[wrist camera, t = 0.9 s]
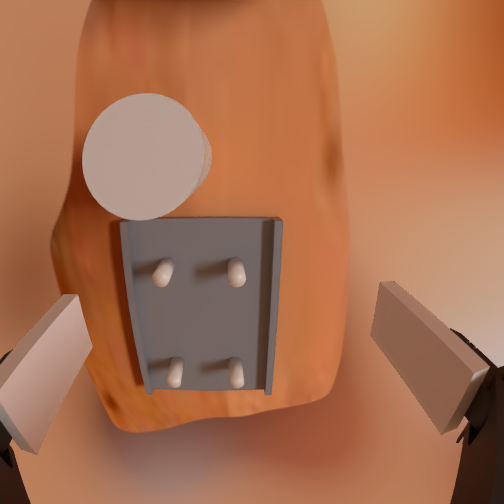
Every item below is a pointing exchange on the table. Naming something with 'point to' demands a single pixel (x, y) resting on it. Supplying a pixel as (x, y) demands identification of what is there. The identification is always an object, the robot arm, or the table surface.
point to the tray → (204, 300)
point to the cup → (145, 156)
